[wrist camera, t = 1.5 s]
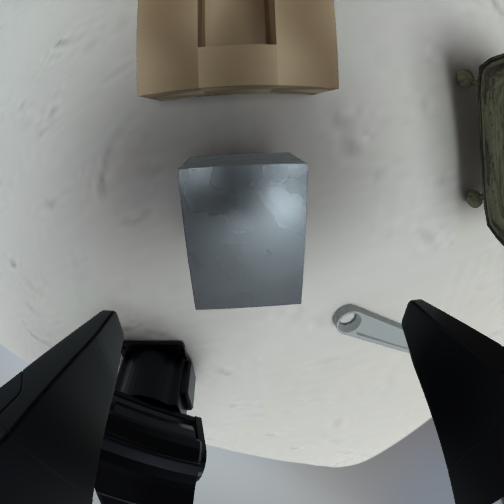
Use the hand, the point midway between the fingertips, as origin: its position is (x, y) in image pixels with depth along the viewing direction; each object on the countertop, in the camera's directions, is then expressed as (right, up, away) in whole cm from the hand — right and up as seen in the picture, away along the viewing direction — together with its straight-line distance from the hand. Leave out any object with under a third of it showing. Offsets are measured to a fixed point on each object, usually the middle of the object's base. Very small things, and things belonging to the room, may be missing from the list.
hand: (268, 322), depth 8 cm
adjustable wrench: (+19, -7, +20) cm, 29 cm away
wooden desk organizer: (-2, +19, +5) cm, 20 cm away
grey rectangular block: (-1, +6, +12) cm, 13 cm away
